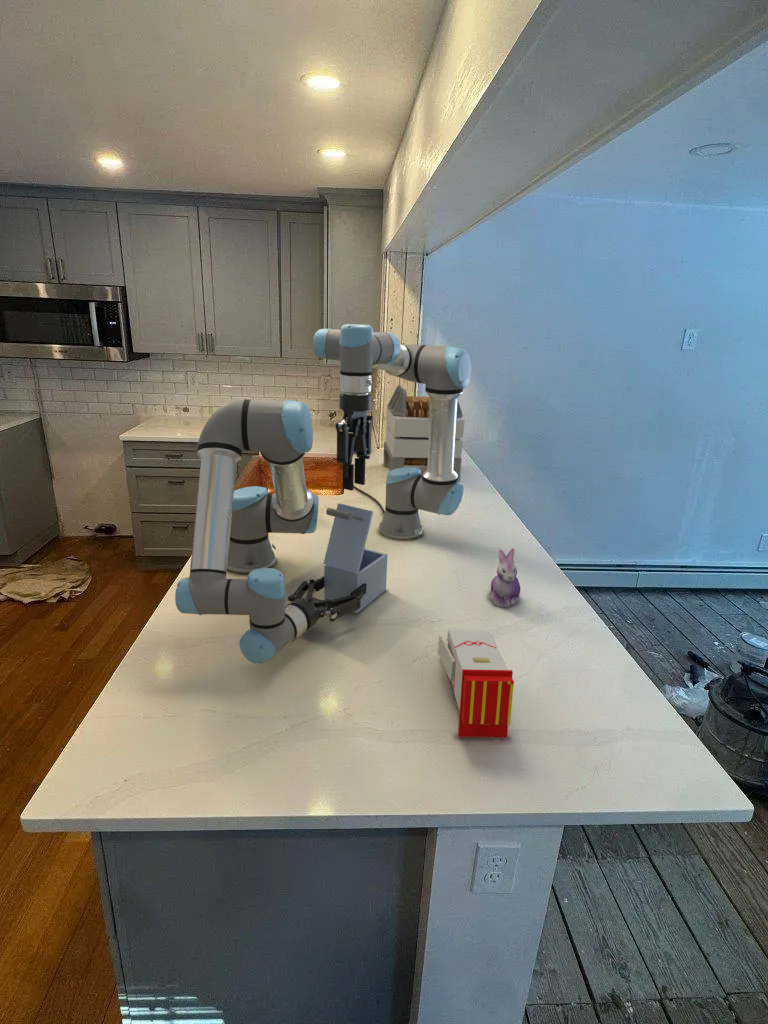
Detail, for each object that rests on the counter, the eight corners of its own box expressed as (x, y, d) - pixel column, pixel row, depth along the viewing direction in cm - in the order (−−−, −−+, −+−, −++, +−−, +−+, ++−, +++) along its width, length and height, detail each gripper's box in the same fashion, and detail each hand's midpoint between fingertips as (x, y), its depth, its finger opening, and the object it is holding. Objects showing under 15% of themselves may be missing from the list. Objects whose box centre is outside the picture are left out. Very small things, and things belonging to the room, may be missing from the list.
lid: (339, 503, 148) (322, 499, 140) (373, 511, 143) (357, 507, 136) (325, 564, 148) (307, 562, 140) (358, 573, 143) (341, 573, 136)
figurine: (502, 611, 151) (509, 560, 146) (479, 594, 159) (485, 545, 154) (530, 604, 155) (537, 554, 150) (506, 588, 163) (512, 540, 158)
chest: (355, 580, 164) (356, 545, 160) (386, 589, 160) (387, 554, 156) (324, 603, 151) (324, 565, 147) (356, 613, 147) (357, 575, 143)
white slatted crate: (382, 463, 289) (386, 382, 275) (445, 464, 293) (451, 384, 279) (390, 482, 257) (394, 392, 243) (460, 483, 261) (468, 394, 247)
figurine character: (362, 457, 305) (363, 447, 318) (362, 443, 301) (363, 434, 315) (350, 456, 304) (351, 447, 318) (350, 443, 301) (351, 434, 314)
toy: (488, 613, 130) (523, 677, 101) (484, 667, 133) (517, 744, 104) (435, 612, 130) (455, 676, 101) (432, 666, 133) (451, 743, 103)
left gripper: (258, 619, 138) (312, 584, 156) (336, 648, 128) (384, 607, 146) (257, 591, 135) (312, 559, 154) (336, 618, 125) (385, 580, 143)
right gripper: (348, 399, 125) (347, 498, 133) (387, 390, 140) (384, 480, 148) (320, 395, 129) (321, 493, 137) (361, 387, 143) (359, 475, 151)
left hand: (347, 582), depth 150 cm, fingers closed on chest, 10 cm apart
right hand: (353, 486), depth 142 cm, fingers open, 5 cm apart
